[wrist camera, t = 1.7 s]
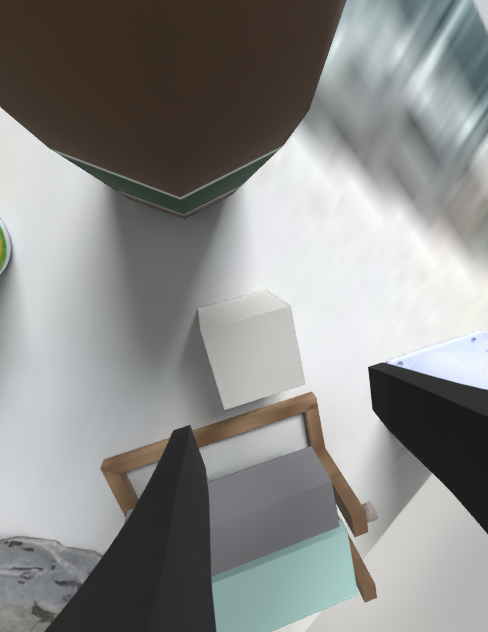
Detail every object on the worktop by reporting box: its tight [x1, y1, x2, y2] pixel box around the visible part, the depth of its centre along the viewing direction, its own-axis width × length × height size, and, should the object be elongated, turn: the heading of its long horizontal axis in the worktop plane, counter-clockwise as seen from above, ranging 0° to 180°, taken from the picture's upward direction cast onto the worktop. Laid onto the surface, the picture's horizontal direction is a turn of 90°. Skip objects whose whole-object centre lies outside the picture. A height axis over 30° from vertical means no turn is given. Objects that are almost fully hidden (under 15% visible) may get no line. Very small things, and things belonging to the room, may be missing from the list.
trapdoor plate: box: [125, 446, 358, 632], centre depth 19 cm, size 14×12×3 cm
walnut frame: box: [101, 392, 378, 602], centre depth 21 cm, size 18×14×6 cm
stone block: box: [198, 289, 305, 410], centre depth 18 cm, size 5×5×5 cm
